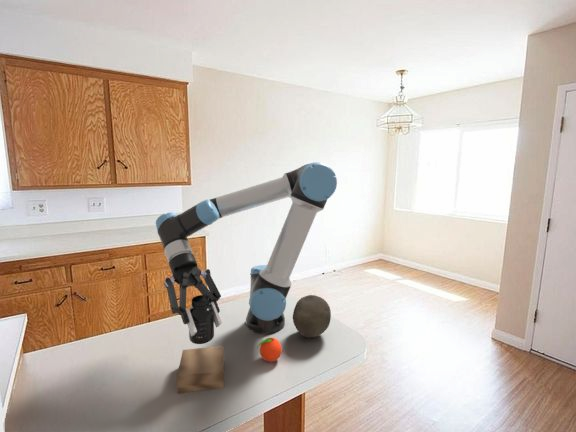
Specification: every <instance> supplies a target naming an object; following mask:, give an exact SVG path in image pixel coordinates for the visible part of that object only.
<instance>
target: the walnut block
mask: <svg viewBox="0 0 576 432" xmlns="http://www.w3.org/2000/svg"><path fill="white" fill-rule="evenodd" d="M224 350H225V349H224V345H218V346H209V347H200V348H189V349H183V350H182V353H181V357H180V362H179V366H178V370H177V375H176V380H177V381H176V382H177V383H176V384H177V387H176V388H177V394H182V393H190V392H198V391H207V390H213V389H222V388H224V387H225V381H224V380H225V373H224V372H225V371H224V370H225V366H224V365H225V364H224V363H225V362H224V359H225V356H224V354H225V353H224V352H225V351H224Z"/></svg>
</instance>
